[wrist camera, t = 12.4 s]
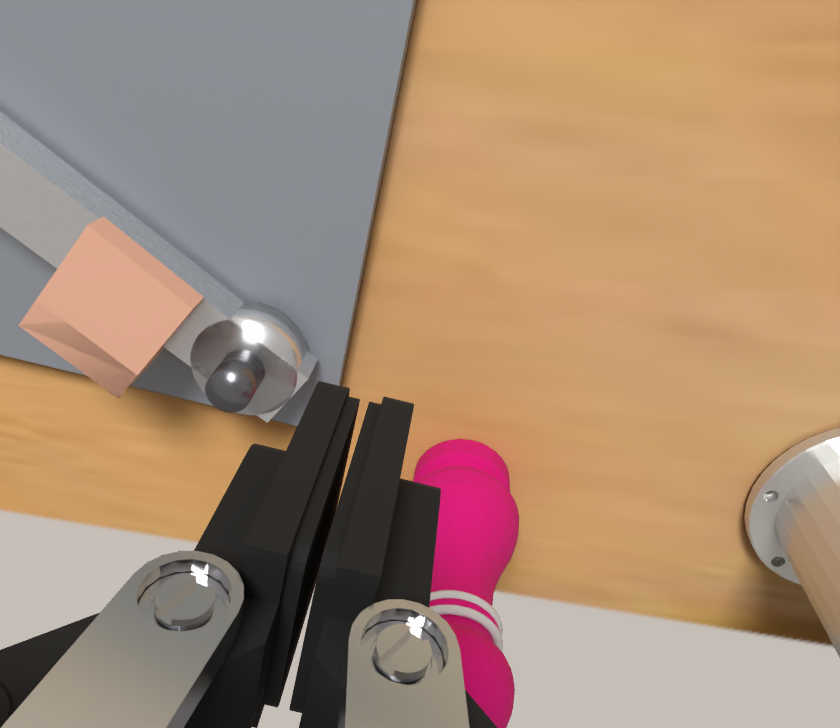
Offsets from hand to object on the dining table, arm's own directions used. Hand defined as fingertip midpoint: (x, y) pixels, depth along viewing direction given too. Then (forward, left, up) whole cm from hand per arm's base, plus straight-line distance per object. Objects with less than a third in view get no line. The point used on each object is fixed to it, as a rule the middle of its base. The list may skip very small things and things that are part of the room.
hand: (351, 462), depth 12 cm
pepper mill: (-6, +20, -27) cm, 34 cm away
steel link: (+16, +9, -25) cm, 31 cm away
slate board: (+16, +4, -27) cm, 32 cm away
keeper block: (+15, +10, -27) cm, 32 cm away
